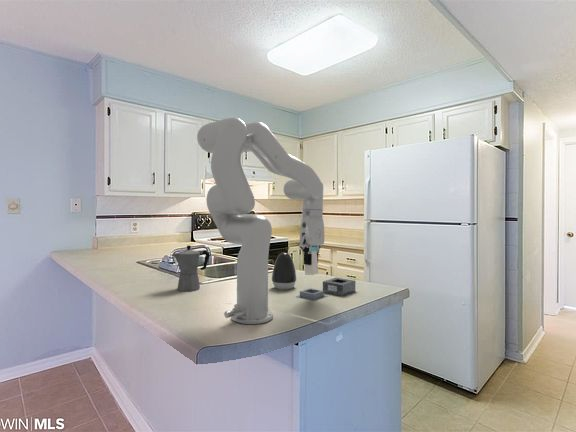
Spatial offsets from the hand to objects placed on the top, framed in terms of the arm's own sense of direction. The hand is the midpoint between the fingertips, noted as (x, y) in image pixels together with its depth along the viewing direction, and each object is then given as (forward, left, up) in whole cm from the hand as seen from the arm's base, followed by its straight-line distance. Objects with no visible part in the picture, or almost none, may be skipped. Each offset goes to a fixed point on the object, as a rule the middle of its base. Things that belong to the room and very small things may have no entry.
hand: (310, 263), depth 124 cm
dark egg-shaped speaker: (+5, +17, -13) cm, 22 cm away
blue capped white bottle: (0, -1, -4) cm, 4 cm away
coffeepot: (-20, +46, -13) cm, 52 cm away
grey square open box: (+1, 0, -13) cm, 13 cm away
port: (+14, -4, -13) cm, 20 cm away
